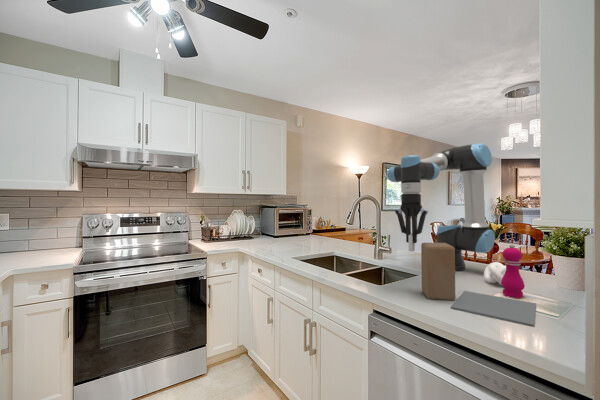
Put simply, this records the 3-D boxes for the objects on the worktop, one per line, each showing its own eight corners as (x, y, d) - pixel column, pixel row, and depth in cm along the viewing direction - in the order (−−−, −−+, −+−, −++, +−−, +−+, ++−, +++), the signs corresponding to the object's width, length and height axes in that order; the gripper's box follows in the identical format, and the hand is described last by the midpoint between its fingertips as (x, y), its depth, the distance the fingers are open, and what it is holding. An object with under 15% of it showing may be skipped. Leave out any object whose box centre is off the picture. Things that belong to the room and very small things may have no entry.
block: (456, 301, 103) (455, 246, 103) (427, 299, 105) (426, 246, 105) (447, 292, 113) (447, 242, 113) (421, 291, 115) (420, 242, 115)
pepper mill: (499, 291, 113) (499, 241, 113) (522, 294, 110) (521, 242, 110) (502, 297, 107) (502, 244, 107) (526, 300, 103) (526, 245, 103)
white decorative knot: (508, 281, 128) (508, 261, 128) (524, 289, 116) (524, 267, 116) (480, 280, 130) (480, 260, 130) (493, 288, 118) (493, 266, 118)
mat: (464, 292, 113) (464, 290, 113) (536, 305, 98) (536, 303, 98) (450, 308, 96) (450, 306, 96) (534, 326, 82) (534, 324, 82)
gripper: (391, 193, 117) (392, 250, 117) (424, 192, 109) (425, 254, 108) (398, 193, 123) (399, 247, 123) (430, 193, 114) (431, 251, 114)
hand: (411, 250), depth 116 cm, fingers closed
